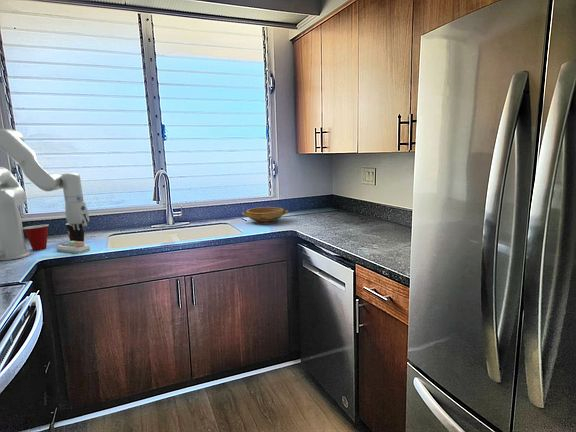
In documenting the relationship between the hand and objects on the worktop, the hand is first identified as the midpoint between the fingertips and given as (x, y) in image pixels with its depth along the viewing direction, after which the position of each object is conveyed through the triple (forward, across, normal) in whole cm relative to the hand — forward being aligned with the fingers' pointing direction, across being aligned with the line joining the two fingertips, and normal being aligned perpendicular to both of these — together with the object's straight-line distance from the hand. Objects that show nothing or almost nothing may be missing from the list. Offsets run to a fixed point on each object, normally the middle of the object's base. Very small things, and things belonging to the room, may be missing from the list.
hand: (80, 237), depth 175 cm
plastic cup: (+6, +26, +3) cm, 27 cm away
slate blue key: (+5, +10, 0) cm, 11 cm away
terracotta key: (+4, +1, 0) cm, 4 cm away
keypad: (+7, +5, 0) cm, 8 cm away
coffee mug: (+7, +20, -13) cm, 24 cm away
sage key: (+4, +5, 0) cm, 7 cm away
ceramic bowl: (+9, -56, -88) cm, 104 cm away
